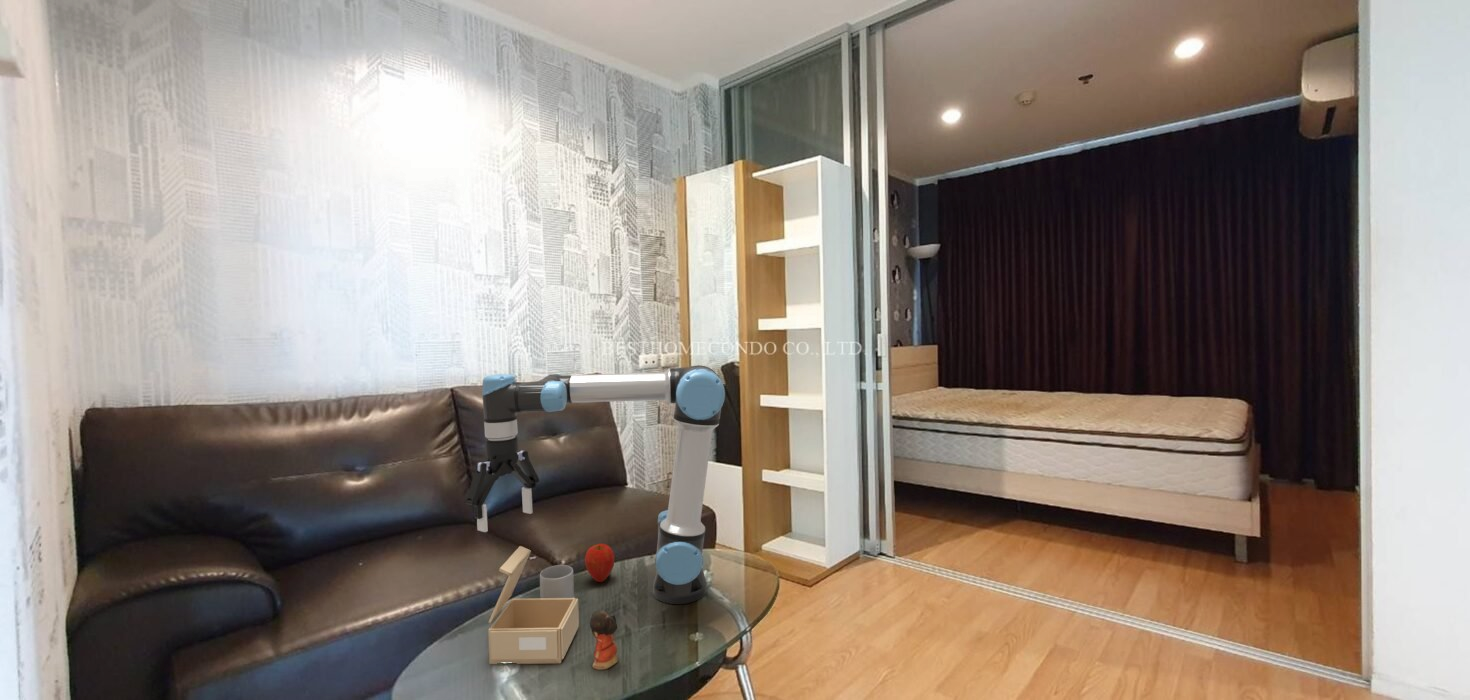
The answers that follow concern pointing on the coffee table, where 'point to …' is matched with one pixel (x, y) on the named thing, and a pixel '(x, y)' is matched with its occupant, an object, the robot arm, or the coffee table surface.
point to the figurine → (604, 639)
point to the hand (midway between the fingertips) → (506, 521)
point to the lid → (511, 576)
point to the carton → (533, 631)
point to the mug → (557, 582)
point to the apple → (599, 561)
